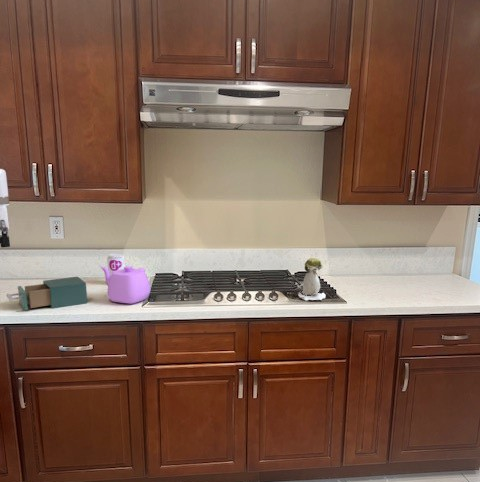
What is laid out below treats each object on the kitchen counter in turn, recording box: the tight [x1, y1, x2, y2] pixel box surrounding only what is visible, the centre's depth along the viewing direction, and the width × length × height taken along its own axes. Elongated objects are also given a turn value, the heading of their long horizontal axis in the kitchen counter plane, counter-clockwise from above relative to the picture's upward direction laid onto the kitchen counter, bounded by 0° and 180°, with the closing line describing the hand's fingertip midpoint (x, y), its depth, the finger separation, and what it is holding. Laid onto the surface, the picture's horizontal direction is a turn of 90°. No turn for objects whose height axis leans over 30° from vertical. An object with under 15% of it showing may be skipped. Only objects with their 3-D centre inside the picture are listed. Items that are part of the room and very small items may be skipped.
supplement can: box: [106, 253, 126, 275], centre depth 228 cm, size 8×8×15 cm
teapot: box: [99, 265, 151, 305], centre depth 206 cm, size 23×21×15 cm
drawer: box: [5, 283, 51, 311], centre depth 192 cm, size 18×11×7 cm, turn 124°
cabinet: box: [42, 276, 88, 309], centre depth 200 cm, size 15×13×9 cm
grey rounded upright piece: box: [297, 257, 327, 302], centre depth 211 cm, size 12×13×18 cm
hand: (3, 245), depth 185 cm, fingers open, 9 cm apart
